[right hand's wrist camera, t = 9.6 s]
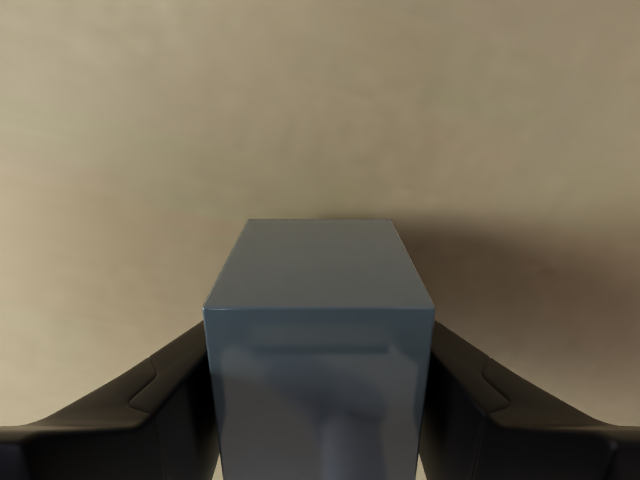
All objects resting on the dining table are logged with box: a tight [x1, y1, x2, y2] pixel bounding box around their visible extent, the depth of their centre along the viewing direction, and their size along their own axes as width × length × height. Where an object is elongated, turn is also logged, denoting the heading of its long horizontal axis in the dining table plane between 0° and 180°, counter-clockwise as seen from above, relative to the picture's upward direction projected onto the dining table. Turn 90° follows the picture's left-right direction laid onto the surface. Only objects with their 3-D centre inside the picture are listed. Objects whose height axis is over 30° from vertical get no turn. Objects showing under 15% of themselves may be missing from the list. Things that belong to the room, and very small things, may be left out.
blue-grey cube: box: [202, 219, 436, 480], centre depth 10 cm, size 4×5×5 cm
